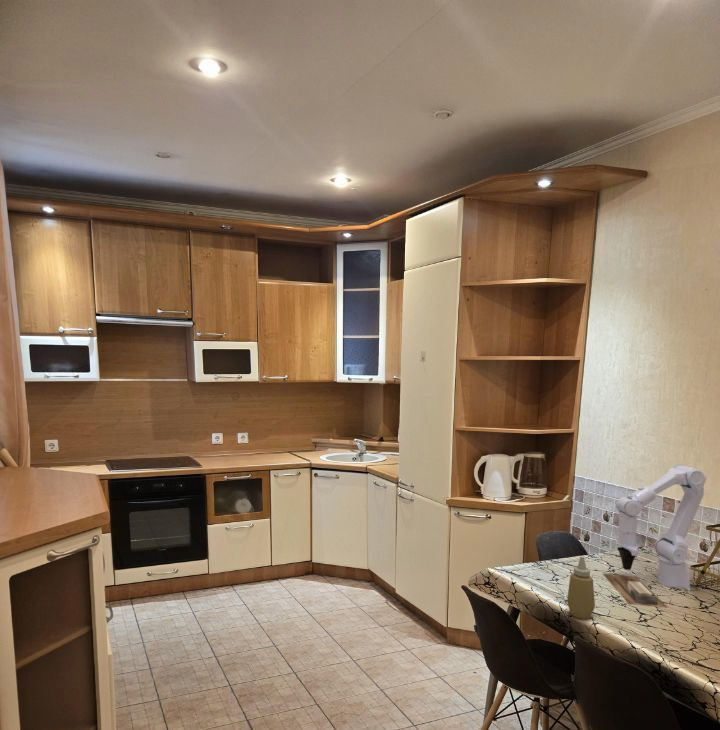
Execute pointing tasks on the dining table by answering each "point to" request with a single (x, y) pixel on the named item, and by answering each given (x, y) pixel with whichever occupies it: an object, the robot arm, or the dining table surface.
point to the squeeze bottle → (581, 592)
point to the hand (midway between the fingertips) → (626, 568)
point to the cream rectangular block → (638, 588)
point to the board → (632, 598)
